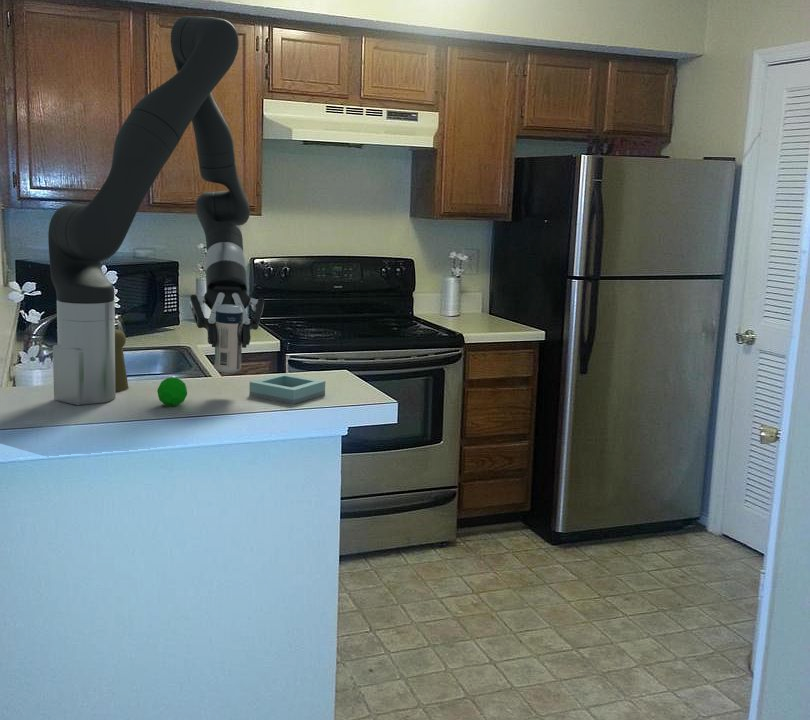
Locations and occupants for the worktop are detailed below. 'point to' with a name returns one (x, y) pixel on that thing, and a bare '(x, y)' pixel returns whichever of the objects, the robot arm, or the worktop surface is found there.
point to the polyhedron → (172, 391)
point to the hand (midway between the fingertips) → (229, 344)
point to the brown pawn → (120, 362)
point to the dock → (287, 388)
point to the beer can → (228, 338)
